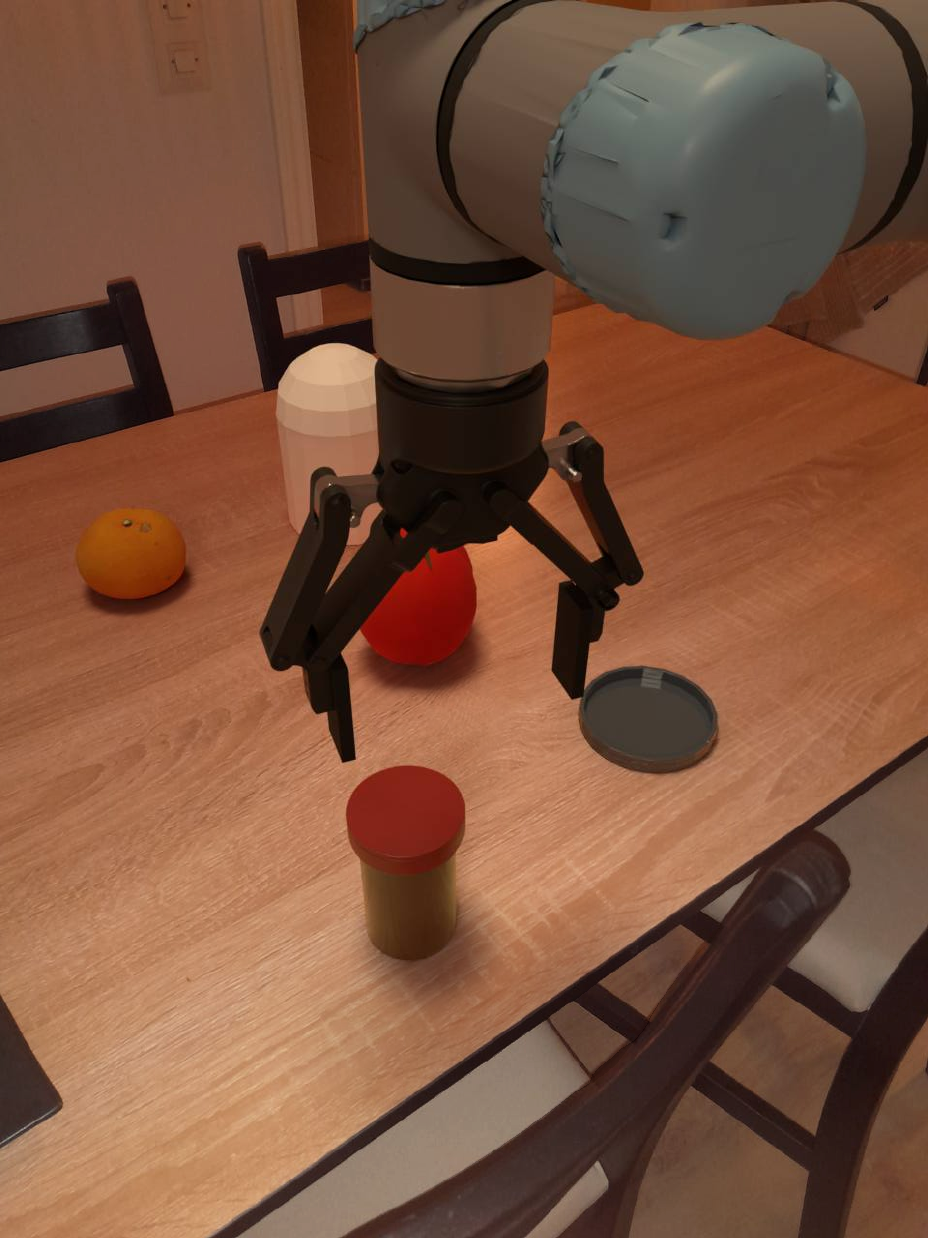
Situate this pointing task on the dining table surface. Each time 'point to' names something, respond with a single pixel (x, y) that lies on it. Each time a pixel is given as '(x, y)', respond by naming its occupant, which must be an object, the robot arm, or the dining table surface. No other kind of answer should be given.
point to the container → (328, 425)
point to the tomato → (425, 610)
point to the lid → (405, 820)
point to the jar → (410, 910)
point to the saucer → (647, 719)
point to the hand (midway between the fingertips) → (458, 713)
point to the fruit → (131, 553)
